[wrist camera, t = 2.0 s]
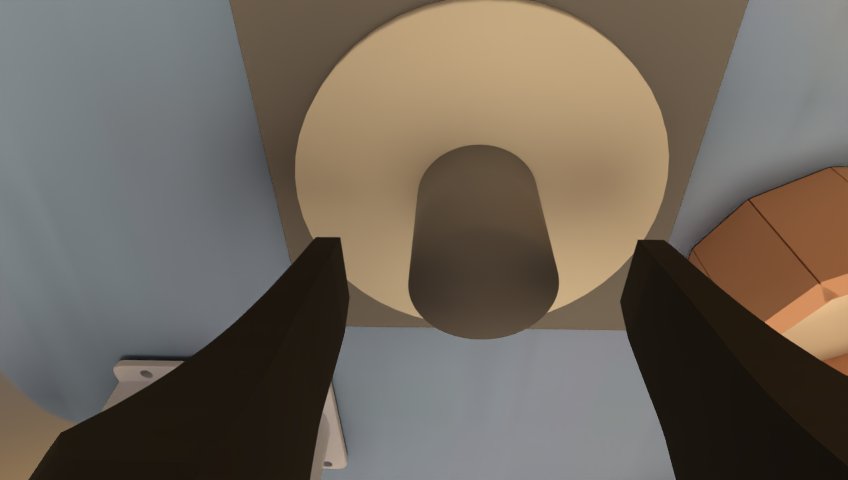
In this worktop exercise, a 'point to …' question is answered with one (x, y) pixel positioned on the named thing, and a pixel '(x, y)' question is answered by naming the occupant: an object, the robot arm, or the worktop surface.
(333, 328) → the robot arm
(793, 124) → the worktop surface
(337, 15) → the mat
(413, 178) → the lid
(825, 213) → the bowl
